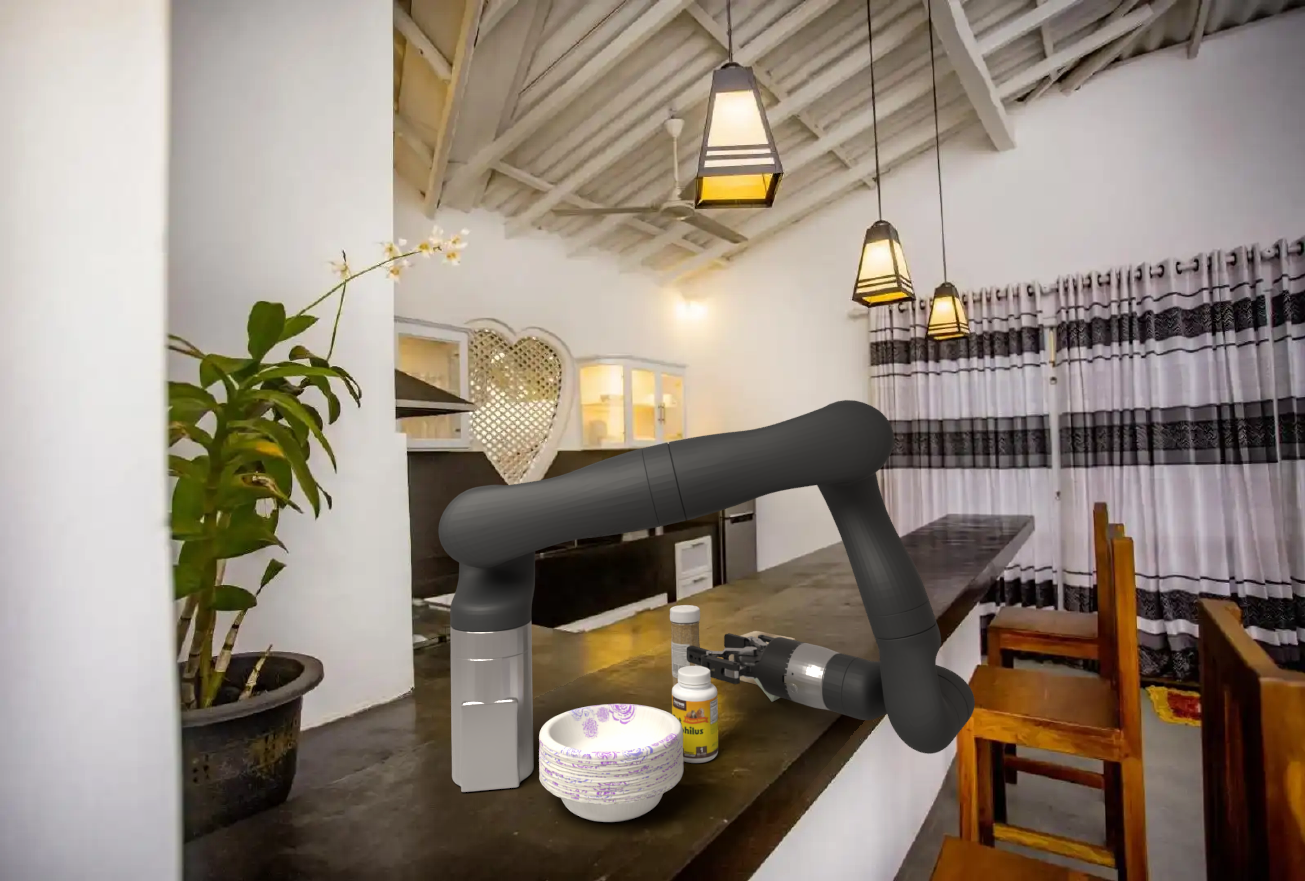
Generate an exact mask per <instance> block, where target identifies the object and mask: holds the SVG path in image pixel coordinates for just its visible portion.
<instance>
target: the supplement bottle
mask: <svg viewBox="0 0 1305 881" xmlns="http://www.w3.org/2000/svg"><path fill="white" fill-rule="evenodd" d="M711 680H712V678H711V677H710V670H709V669H708V668H706V667H702V666H686V667H682V668H680V669H679V670H678V683H677V684H676V685H674V687H673V686H672V688H671V714H672V715H673V716H675V717H676V718H677V719H678V720H679V722H680V723H681V725H682V728H683V762H684V763H685V762H686V763H691V764H702V763H707V762H710V761H712V760H714V759H715V758H716V757H717V756H718V753H719V720H718V719H719V712H718V711H719V710H718V706H719V705H718V704H719V703H718V702H719V701H718V700H719V699H718V688H717V687H716V686H715V685H714V684H713V683H712V681H711Z"/></svg>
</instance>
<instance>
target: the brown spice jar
mask: <svg viewBox="0 0 1305 881" xmlns="http://www.w3.org/2000/svg"><path fill="white" fill-rule="evenodd" d="M669 620H670V623H671V624H670V625H671V626H670V627H671V628H670V630H671V641H670V643H671V644H670V646H671V675H672V688H673V687H674V685H676V684H677V683H678V670H679V669H680V668H682V667H686V666H700V665H697V664H694V663H690V662H688V661H687V647H689V646H696V647H700V648H701V645H700V620H701V610H700V607H698V606H696V605H693V604H691V605H689V604H683V605H680V604H679V605H675V606H672V607H671V608H670V609H669Z"/></svg>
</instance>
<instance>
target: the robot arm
mask: <svg viewBox="0 0 1305 881" xmlns="http://www.w3.org/2000/svg"><path fill="white" fill-rule="evenodd" d="M894 436H895V434H894V430H893V427H892V425H891V423H890V421H889V419H888V417H886V415H885V414H884V413H883V412H882V411H880V410H879V409H877V408H876V407H874V406H872V405H870V404H868V403H867V402H862V401H860V400H853V399H851V400H850V399H844V400H838V401H834V402H832V403H829V404H827V405H825V406H823V407H821V408H818V409H815V410H812V411H810V412H807V413H804V414H801V415H798V416H795V417H792V418H790V419H787V420H783V421H780V422H778V423H777V422H776V423H773V424H770V425H766V426H763V427H758V428H753V429H747V430H737V431H730V432H729V431H728V432H720V433H714V434H706V435H700V436H694V437H689V438H682V439H677V440H672V441H668V442H663V443H658V444H654V445H650V446H646V447H643V448H637V449H634V450H630V451H627V452H624V453H621V454H618V455H614V456H612V457H609V458H605V459H603V460H599V461H597V462H594V463H591V464H589V465H585V466H583V467H581V468H578V469H576V470H573V471H572V470H571V471H570V472H568V473H567V472H566V473H564V474H561V475H558V476H554V477H551V478H550V477H549V478H545V479H539V480H534V481H525V482H520V483H515V484H514V483H513V484H506V485H505V484H504V485H503V484H488V485H482V486H476V487H472V488H469V489H466V490H465V491H463V492H461V493H459V494H458V495H456V497H454V498H453V499H452V500H451V501H450V502H449V503H448V505H447V506H446V508H445V509H444V510H443V512H442V515H441V516H440V520H439V523H438V537H439V541H440V545H441V547H442V548H443V549H444V551H445V553H446V554H447V555H448V556H449V557H450V558H451V559H453V560H454V561H456V562H458V563H459V564H458V565H459V566H458V567H459V568H458V581H457V586H456V589H455V592H454V596H453V598H452V600H451V602H450V607H449V608H450V610H449V612H450V614H449V618H450V622H449V624H450V625H449V626H450V701H451V702H450V706H451V707H450V709H451V711H450V712H451V713H450V715H451V716H450V718H451V721H450V722H451V723H450V724H451V725H450V726H451V731H450V732H451V734H450V735H451V778H452V781H453V782H454V783H455V784H456V785H457V786H459V787H460V790H461V792H462V793H466V792H467V793H469V792H480V791H489V790H500V789H501V790H502V789H510V788H511V789H512V788H513V789H514V788H518V787H519V786H520V783H521V782H522V781H524V780H525V779H527V778H528V777H529V776H530V775H531V774H532V773H533V771H534V724H533V723H534V720H533V719H534V718H533V716H534V715H533V713H534V712H533V709H534V706H533V653H532V651H533V649H532V648H533V647H532V645H533V639H532V638H533V637H532V636H533V634H532V633H533V632H532V627H533V626H532V606H533V605H532V604H533V600H534V599H533V598H534V594H535V587H536V552H537V551H539V550H540V551H541V550H543V549H546V548H549V547H553V546H555V545H559V544H562V543H566V542H567V543H568V542H570V541H571V542H572V541H575V540H576V541H577V540H583V539H590V538H598V537H599V538H600V537H607V536H615V535H621V534H622V535H623V534H628V533H633V532H638V531H643V530H648V529H649V530H650V529H654V528H655V529H656V528H660V527H664V526H667V525H672V524H676V523H682V522H685V521H690V520H693V519H697V518H700V517H704V516H708V515H711V514H715V513H718V512H720V511H724V510H728V509H730V508H733V507H736V506H739V505H742V504H744V503H747V502H750V501H752V500H755V499H757V498H760V497H764V496H766V495H770V494H774V493H777V492H781V491H787V490H792V489H793V490H794V489H801V488H806V487H807V488H808V487H814V486H817V488H818V490H819V491H820V494H821V496H822V497H823V499H824V501H825V504H826V505H827V507H828V510H829V512H830V514H831V516H832V519H833V521H834V523H835V527H836V528H837V531H838V533H839V535H840V539H841V541H842V543H843V546H844V549H845V552H846V555H847V558H848V561H849V564H850V568H851V569H852V573H853V575H854V576H853V577H854V579H855V582H856V584H857V589H858V590H859V594H860V599H861V601H862V604H863V606H864V610H865V613H866V617H867V619H868V622H869V625H870V628H871V630H872V634H873V637H874V639H875V642H876V645H877V649H878V656H879V661H875V660H869V659H865V658H861V657H858V656H853V655H849V654H845V653H841V652H838V651H836V650H833V649H831V648H827V647H825V646H821V645H817V644H812V643H807V642H804V641H799V640H796V639H795V640H792V639H788V638H783V637H777V638H773V637H769V636H765V635H758V639H756V638H755V637H753V636H750V637H743V636H741V635H739V634H734V633H730V632H729V633H725V634H724V635H723V646H724V648H723V650H722V651H721V650H711V649H705V648H702V647H701V646H700V647H696V646H689V647H687V661H688V662H690V663H694V664H697V665H700V666H702V667H706V668H708V669H709V670H710V677H711V679H715V680H719V681H722V682H725V683H728V684H733V685H739V684H740V682H741V680H740V676H744V677H745V678H751V679H755V678H757V679H758V680H759V681H760V683H761V685H762V687H763V688H764V690H765V691H766V692H767V693H769V694H771V695H774V696H778V697H781V698H782V699H785V700H789V701H791V702H794V703H797V704H801V705H804V706H807V707H810V708H814V709H819V710H820V709H821V710H825V711H826V710H827V711H830V712H833V713H836V714H837V713H838V714H841V715H844V716H847V717H850V718H853V719H856V720H857V719H858V720H861V721H873V720H875V719H879V718H881V717H882V716H885V715H887V717H888V719H889V723H890V724H891V727H892V728H893V730H894V732H895V733H896V735H897V736H898V737H899V738H900V739H901V740H902V742H903V743H904V744H906V745H907V747H909V748H911V749H912V750H915V751H917V752H918V753H922V754H928V755H929V754H936V753H940V752H941V751H944V750H945V749H946V748H947V747H949V746H950V745H951V743H952V742H953V741H954V739H955V738H957V735H958V734H959V733H960V732H961V731H962V729H963V727H964V726H966V724H967V723H968V721H969V720H970V719H971V717H972V715H973V713H974V711H975V702H976V701H975V700H976V699H975V697H974V693H973V690H972V688H971V687H970V685H969V684H968V683H967V681H966V680H965V679H963V677H961V676H960V675H959V674H957V673H956V672H954V671H953V670H950V669H949V668H946V667H943V666H942V665H937V661H936V660H937V655H938V654H939V651H940V648H941V644H942V638H941V632H940V628H939V625H938V623H937V622H938V621H937V619H936V616H935V614H934V610H933V607H932V603H931V602H930V599H929V595H928V593H927V590H926V588H925V585H924V583H923V579H922V578H921V575H920V573H919V571H918V569H917V566H916V565H915V563H914V560H913V559H912V557H911V556H910V553H909V552H908V550H907V548H906V547H905V546H906V545H904V543H903V541H902V539H901V537H900V536H899V533H898V532H897V530H896V528H895V526H894V524H893V522H892V520H891V517H890V515H889V513H888V510H887V508H886V505H885V502H884V499H883V496H882V492H881V490H880V486H879V482H878V477H877V473H878V471H880V470H881V468H883V467H884V465H885V464H886V462H887V461H888V460H889V458H890V456H891V455H892V451H893V449H894V443H895V442H894V441H895V437H894ZM766 642H769V643H768V644H767V643H766ZM732 654H734V660H731V661H729V656H730V655H732ZM781 698H780V699H781ZM964 728H965V727H964Z"/></svg>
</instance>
